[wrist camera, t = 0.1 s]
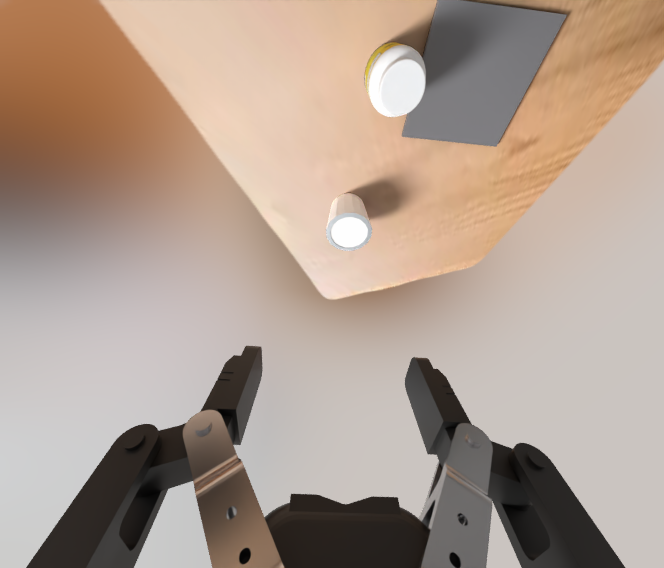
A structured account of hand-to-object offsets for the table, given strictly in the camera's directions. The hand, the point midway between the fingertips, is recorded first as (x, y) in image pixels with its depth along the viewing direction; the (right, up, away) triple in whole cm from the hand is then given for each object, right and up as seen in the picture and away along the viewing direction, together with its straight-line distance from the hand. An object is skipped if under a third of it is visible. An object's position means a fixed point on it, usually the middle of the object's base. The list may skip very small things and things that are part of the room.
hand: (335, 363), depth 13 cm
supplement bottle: (+6, +29, +15) cm, 33 cm away
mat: (+16, +28, +16) cm, 36 cm away
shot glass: (+2, +17, +28) cm, 33 cm away
